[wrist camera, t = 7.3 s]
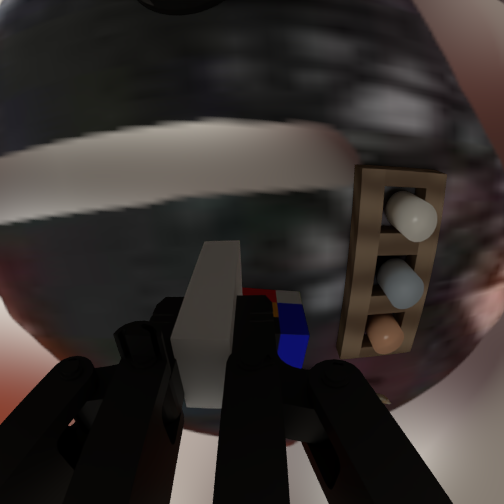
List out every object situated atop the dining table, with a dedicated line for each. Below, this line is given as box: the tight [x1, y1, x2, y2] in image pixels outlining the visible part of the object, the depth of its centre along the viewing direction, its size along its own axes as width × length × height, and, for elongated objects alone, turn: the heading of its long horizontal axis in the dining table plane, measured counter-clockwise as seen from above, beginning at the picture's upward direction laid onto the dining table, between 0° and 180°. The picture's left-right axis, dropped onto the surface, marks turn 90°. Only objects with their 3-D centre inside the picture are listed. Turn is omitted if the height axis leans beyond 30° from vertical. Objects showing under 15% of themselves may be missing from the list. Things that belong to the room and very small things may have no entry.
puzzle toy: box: [242, 288, 310, 369], centre depth 42 cm, size 10×10×10 cm
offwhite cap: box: [385, 191, 437, 242], centre depth 35 cm, size 5×5×5 cm
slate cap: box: [377, 258, 424, 309], centre depth 39 cm, size 5×5×5 cm
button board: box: [336, 165, 447, 359], centre depth 42 cm, size 28×12×3 cm, turn 1°
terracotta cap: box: [365, 313, 404, 354], centre depth 44 cm, size 5×5×5 cm
